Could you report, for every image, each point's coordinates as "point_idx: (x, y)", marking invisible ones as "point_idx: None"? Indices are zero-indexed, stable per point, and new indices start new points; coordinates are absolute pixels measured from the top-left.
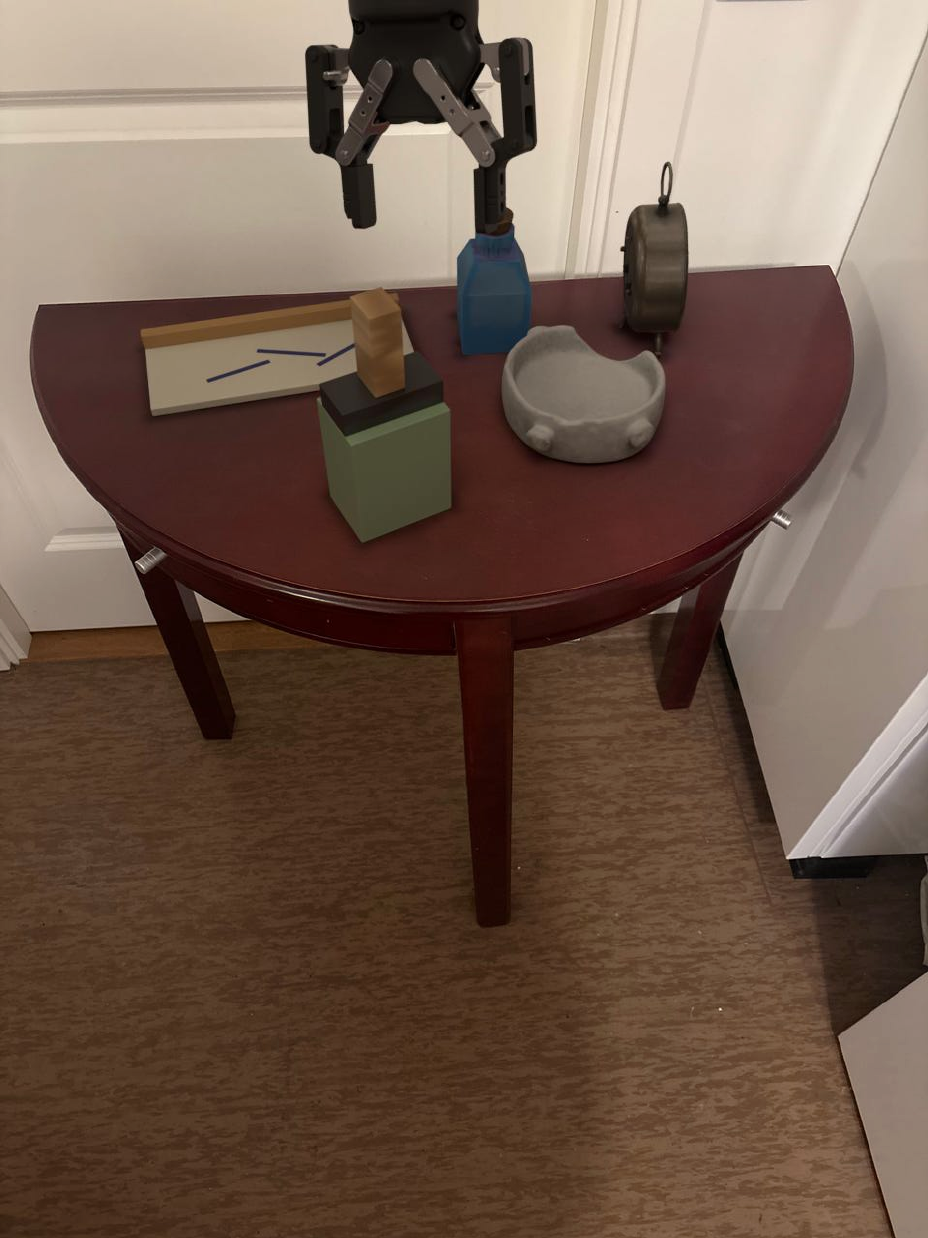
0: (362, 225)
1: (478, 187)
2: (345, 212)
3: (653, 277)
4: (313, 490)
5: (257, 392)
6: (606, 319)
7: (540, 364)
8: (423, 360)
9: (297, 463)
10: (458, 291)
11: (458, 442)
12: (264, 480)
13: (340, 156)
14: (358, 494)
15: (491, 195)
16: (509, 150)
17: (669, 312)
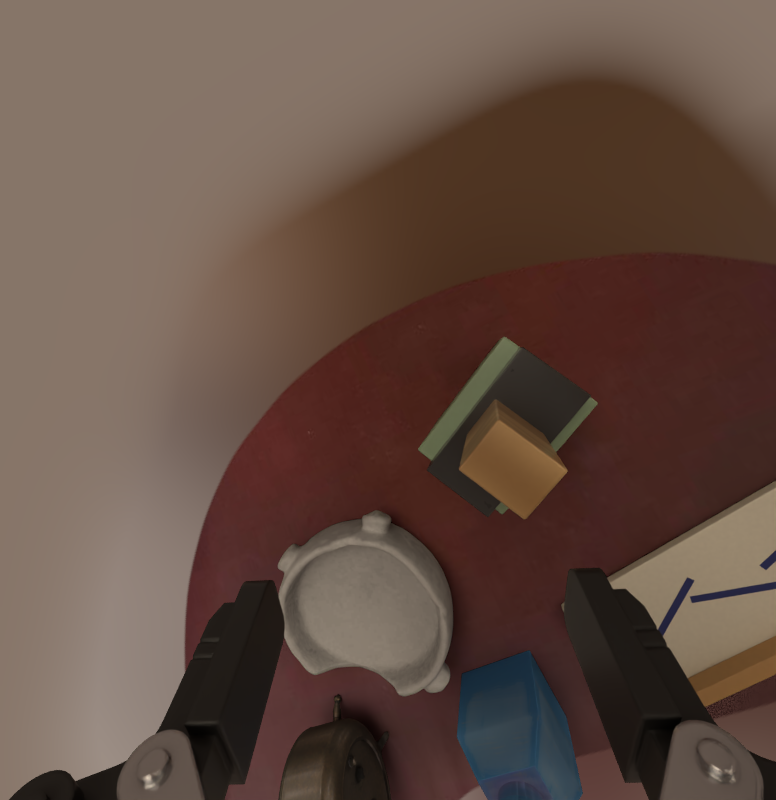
0: (573, 573)
1: (222, 671)
2: (638, 602)
3: (313, 777)
4: (587, 388)
5: (744, 506)
6: (405, 744)
7: (425, 639)
8: (470, 499)
9: (628, 419)
10: (564, 738)
11: (471, 513)
12: (652, 379)
13: (724, 748)
14: (499, 340)
15: (206, 661)
16: (62, 788)
17: (307, 737)
